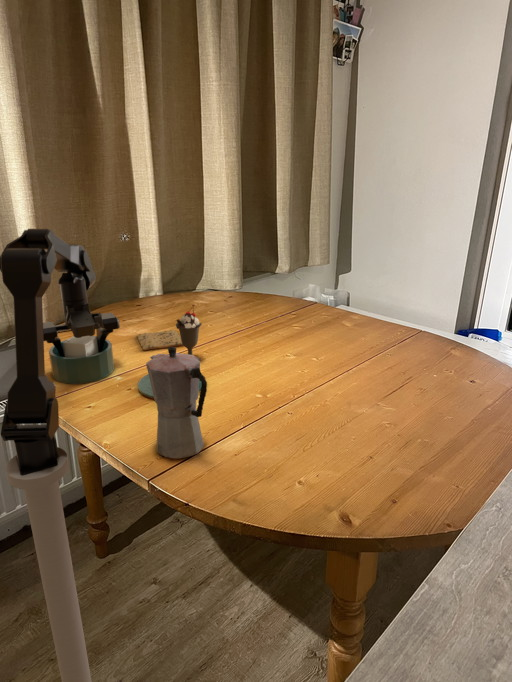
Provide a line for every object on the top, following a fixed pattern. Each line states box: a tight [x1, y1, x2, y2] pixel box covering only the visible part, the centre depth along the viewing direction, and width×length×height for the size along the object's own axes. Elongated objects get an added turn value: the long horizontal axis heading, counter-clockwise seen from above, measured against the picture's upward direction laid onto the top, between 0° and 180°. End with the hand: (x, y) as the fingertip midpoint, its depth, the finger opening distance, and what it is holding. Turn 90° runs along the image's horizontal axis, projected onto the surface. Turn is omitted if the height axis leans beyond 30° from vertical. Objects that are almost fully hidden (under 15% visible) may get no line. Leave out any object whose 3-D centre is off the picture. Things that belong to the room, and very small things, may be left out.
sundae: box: [175, 304, 202, 362], centre depth 130 cm, size 7×7×15 cm
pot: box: [48, 338, 115, 385], centre depth 124 cm, size 15×15×6 cm
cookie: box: [136, 329, 183, 351], centre depth 145 cm, size 12×12×1 cm
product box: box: [63, 335, 99, 358], centre depth 124 cm, size 6×6×7 cm
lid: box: [137, 373, 202, 399], centre depth 117 cm, size 16×16×6 cm
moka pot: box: [145, 346, 208, 459], centre depth 91 cm, size 10×15×20 cm, turn 51°
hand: (82, 358), depth 124 cm, fingers closed on product box, 8 cm apart
